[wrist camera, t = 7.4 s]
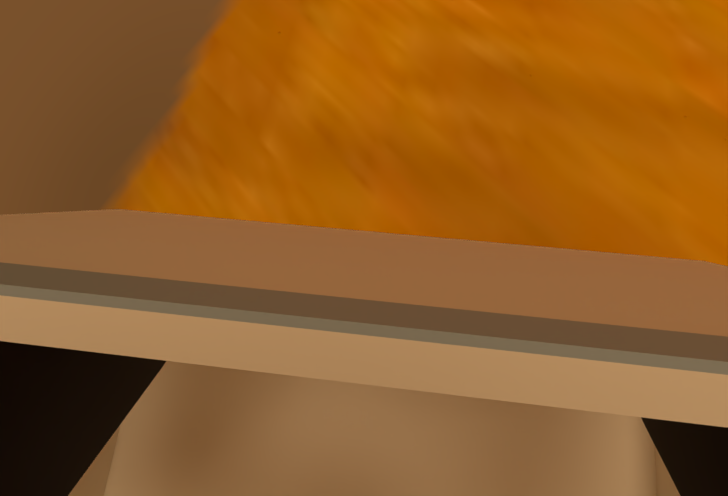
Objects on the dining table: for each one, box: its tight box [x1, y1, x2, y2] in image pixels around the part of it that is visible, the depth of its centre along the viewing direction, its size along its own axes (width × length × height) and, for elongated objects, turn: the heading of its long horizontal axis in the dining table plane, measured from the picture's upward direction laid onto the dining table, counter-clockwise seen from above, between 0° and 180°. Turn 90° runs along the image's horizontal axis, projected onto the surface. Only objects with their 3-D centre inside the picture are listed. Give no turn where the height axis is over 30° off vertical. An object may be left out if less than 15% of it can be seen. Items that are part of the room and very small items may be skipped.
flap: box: [0, 209, 728, 428], centre depth 11 cm, size 12×21×1 cm
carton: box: [68, 361, 680, 496], centre depth 17 cm, size 14×22×4 cm, turn 84°
